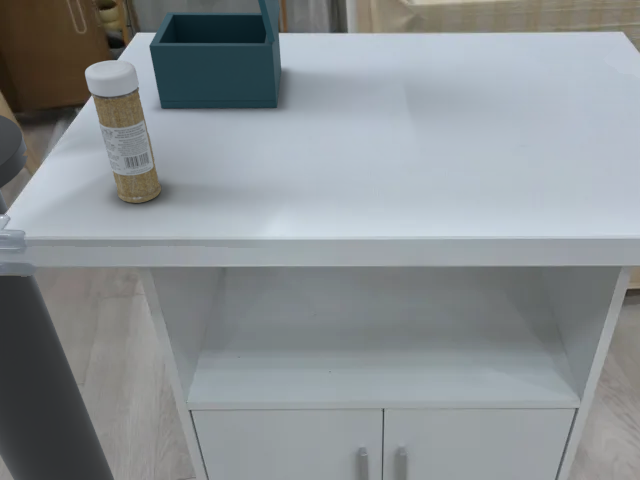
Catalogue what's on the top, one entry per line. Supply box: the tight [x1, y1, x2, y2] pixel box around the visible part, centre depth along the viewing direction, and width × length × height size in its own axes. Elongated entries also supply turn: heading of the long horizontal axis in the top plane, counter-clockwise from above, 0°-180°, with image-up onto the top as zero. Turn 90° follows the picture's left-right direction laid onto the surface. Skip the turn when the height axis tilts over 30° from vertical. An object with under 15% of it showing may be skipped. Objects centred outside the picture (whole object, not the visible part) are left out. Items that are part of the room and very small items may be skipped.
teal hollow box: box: [149, 11, 282, 109], centre depth 90 cm, size 15×13×8 cm
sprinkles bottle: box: [84, 59, 162, 204], centre depth 67 cm, size 5×5×13 cm
